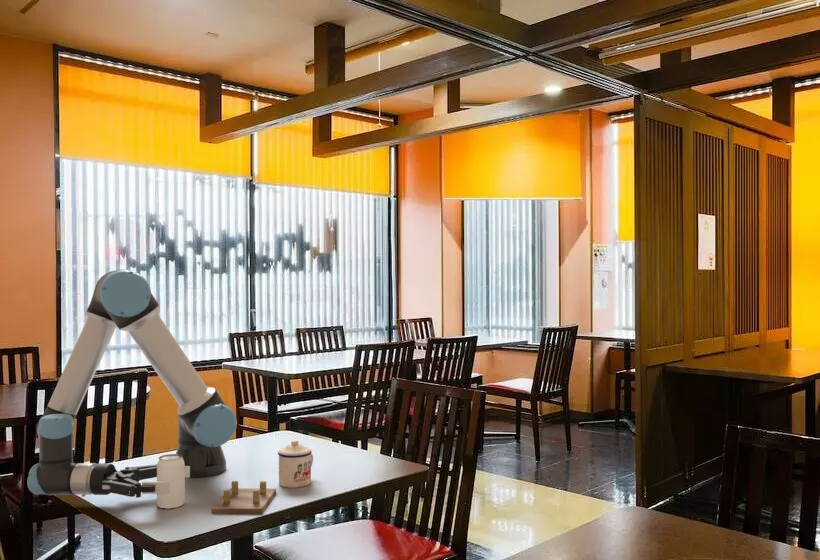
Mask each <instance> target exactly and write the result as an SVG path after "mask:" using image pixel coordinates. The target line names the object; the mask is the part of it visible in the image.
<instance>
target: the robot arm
mask: <svg viewBox="0 0 820 560" xmlns="http://www.w3.org/2000/svg"><path fill="white" fill-rule="evenodd" d="M89 302H90V303H89V305H88V306H87V309H86V311H85V312H86V316H87V319H86V321H85V324H84V325H83V328H82V330H81V332H80V334H79V336H78V338H77V340H76V343H75V345H74V347H73V350H72V351H71V354H70V356H69V358H68V360H67V362H66V364H65V367H64V368H63V371H62V373H61V375H60V378H59V380H58V381H57V384H56V387H55V388H54V390H53V393H52V395H51V397H50V400H49V402H48V404H47V407H46V408H45V410H44V412H43V414H42V416H41V417H40V419H39V420H38V422H37V424H36V434H37V436H38V444H39V445H38V446H39V447H38V449H39V450H38V451H39V454H38V455H39V459H38V460H39V461H38V463H36V464H34V465H33V466H32V467H31V468H30V469H29V472H28V477H27V481H26V483H27V484H26V485H27V488H28V490H29V491H30V492H31V493H32V494H35V495H46V496H53V495H54V496H60V495H66V496H68V495H69V496H70V495H72V496H73V495H81V497H83V498H84V497H86V496H88V495H89V496H91V495H94V496H108V495H110V494H115V495H120V496H126V497H130V498H133V497H135V498H136V499H138V498H141V497H142V495H143V494H146V495H147V494H156V495H157V494H170V481H157V480H156V481H155V480H154V481H149V479H154V478H157V464H156V463H155V464H149V465H139V466H125V468H123V469H120V470H119V471H118V470H117V469H116V466H115V465H114V464H113V463H111V462H109V463H104V462H103V463H96V462H90V463H89V462H86V463H85V462H84V463H83V462H82V463H81V462H79V463H78V462H77V463H76V462H75V463H74V429H75V427H74V422H75V420H76V417H77V414H78V413H79V410H80V407H81V405H82V404H83V401H84V399H85V396H86V394H87V391H88V390H89V388H90V386H91V383H92V380H93V379H94V378H95V374H96V372H97V370H98V368H99V365H100V363H101V361H102V359H103V357H104V354H105V352H106V350H107V348H108V346H109V344H110V342H111V339H112V338H113V335H114V333H115V330H116V328H117V329H118V330H119V331H123V332H128V333H129V335H130V336H131V338H132V339H133V341H134V342H135V344H136V345H137V346H138V348H139V349H140V351H141V352H142V353H143V355H144V357H145V358H146V360H147V362H149V364H150V366H151V367H152V368H153V370H154V371H155V373H156V374H157V376H158V377H159V378H160V380H161V381H162V382H163V384H164V386H165V387H166V389H167V390H168V392H169V393H170V394H171V395H172V397H173V399H174V400H175V402H176V403H177V407H178V408H177V411H176V413H177V417H178V418H177V420H178V421H177V422H178V423H177V426H178V427H177V428H178V429H177V431H178V435H177V436H178V440H177V441H178V444H177V448H176V451H175V454H180V455H183V457H182V458H183V460H184V464H185V478H203V477H204V478H205V477H211V476H215V475H218V474H220V473H221V474H222V473H223V472H224V471H226V470H227V459H226V457H225V454H224V450H223V448H222V446H223V445H225V444H226V443H228V442H229V441H230V440H231V439H232V438H233V436H234V435H235V432H236V430H237V426H238V421H237V415H236V413H235V411H234V410H233V409H232V408H231V407H230V406H229V405H227V404H226V403H225V401H224V400H223V399H222V397H221V394H220V392H219V391H218V390H217V389H216V388H215V387H211V386H207V385H206V384H205V382H204V380H203V379H202V378H201V376H200V374H199V373H198V371H197V370H196V369H195V366H194V365H193V364H192V362H191V361H190V359H189V357H188V356H187V355H186V354H185V352H184V350H183V349H182V347H181V346H180V345H179V343H178V342H177V340H176V338H175V337H174V335H173V334H172V332H171V331H170V329H169V328H168V327H167V325H166V323H165V322H164V321H163V319H162V318H161V316H160V315H159V310H160V304H159V302H158V301H157V300H156V298H155V296H154V295H153V293H152V292H151V287H150V284H149V283H148V281H147V280H146V278H145V277H143V275H141V274H140V273H138V272H136V271H134V270H130V269H117V270H112V271H109V272H106V273H105V274H104V275H102V276H101V277H100V278H99V279H98V280H97V282H96V284H95V286H94V290H93V294H92V296H91V300H90V301H89ZM147 479H148V481H147ZM142 480H146V481H142ZM140 481H142V482H140Z"/></svg>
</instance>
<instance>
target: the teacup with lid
mask: <svg viewBox="0 0 820 560" xmlns="http://www.w3.org/2000/svg"><path fill="white" fill-rule="evenodd" d="M277 455H278V484H279V486H281V487H283V488H287V489H289V488H290V489H291V488H293V489H294V488H295V489H297V488H303V487H306V486H308V485H310V484H311V481H312V475H311V474H312V466H313V462H314V455H313V453H312V449H311V448H310V447H307V446H304V445H303V444H300V443H299V440H297V439H296V440H295V439H294V440H291V442H290V443H289V444H287V445H286V446H285V447H282V448H280V449H279V450H278V452H277Z"/></svg>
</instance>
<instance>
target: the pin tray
mask: <svg viewBox="0 0 820 560" xmlns="http://www.w3.org/2000/svg"><path fill="white" fill-rule="evenodd" d="M276 494H277V488H267V481H266V480H262V481H259V488H254V487H252V488H249V487H248V488H245V487H244V488H242V487H241V488H239V481H238V480H233V481H231V488H229V489H224V490H223V496H222V497H221V498H219V500H218V501H217V502H216V504H214V505H213V506H212V508H211V514H212V513H222V514H224V515H225V514H230V515H231V514H232V515H233V514H237V515H238V514H239V515H242V514H248V515H249V514H252V515H254V514H257V515H258V514H259V515H263V513H264V511H265V510H266V508H268V505H269V504H270V503H271V502H272V500H273V499H274V497H275V496H276Z"/></svg>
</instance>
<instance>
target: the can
mask: <svg viewBox="0 0 820 560" xmlns="http://www.w3.org/2000/svg"><path fill="white" fill-rule="evenodd" d="M182 457H183V455H180V454H176V453H169V454H163V455H160V456H159V457H158V461H157V477H156V481H170V494H156V504H157V505H156V506H157V507H158V508H159V507H160V508H159V509H161V508H165V509H164V510H172V509H171V508H174V509H177V507H178V508H180V506H181V507H182V506H183V505H184V504H185V503H186V502H185V501H186V500H185V498H186V497H185V496H186V495H185V492H186V491H185V487H186V485H185V482H186V481H185V479H186V477H185V464H184V460H183V458H182Z"/></svg>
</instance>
